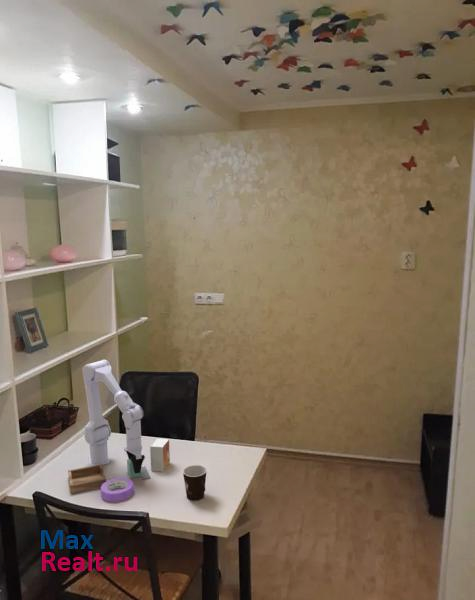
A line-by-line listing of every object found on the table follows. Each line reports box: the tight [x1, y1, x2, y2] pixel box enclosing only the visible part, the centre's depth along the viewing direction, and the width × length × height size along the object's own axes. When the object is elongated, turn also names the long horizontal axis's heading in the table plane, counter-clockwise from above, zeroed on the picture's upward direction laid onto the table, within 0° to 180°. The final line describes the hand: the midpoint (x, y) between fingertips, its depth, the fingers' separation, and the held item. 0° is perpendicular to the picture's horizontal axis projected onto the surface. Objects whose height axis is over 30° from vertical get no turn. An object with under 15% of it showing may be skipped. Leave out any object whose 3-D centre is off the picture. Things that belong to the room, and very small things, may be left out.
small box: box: [149, 438, 171, 472], centre depth 199 cm, size 8×6×10 cm
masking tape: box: [100, 477, 134, 503], centre depth 178 cm, size 12×12×4 cm
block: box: [126, 458, 141, 479], centre depth 192 cm, size 4×4×6 cm
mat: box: [139, 466, 151, 481], centre depth 192 cm, size 10×10×1 cm
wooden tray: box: [67, 464, 107, 495], centre depth 187 cm, size 13×13×4 cm
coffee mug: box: [182, 464, 207, 502], centre depth 174 cm, size 12×9×10 cm
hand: (135, 468), depth 192 cm, fingers open, 7 cm apart
